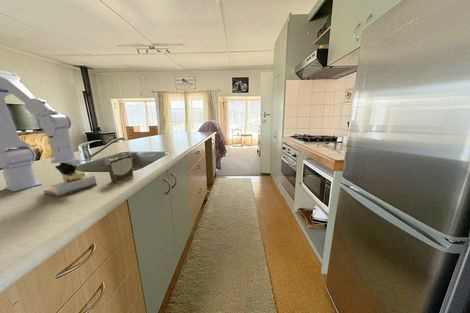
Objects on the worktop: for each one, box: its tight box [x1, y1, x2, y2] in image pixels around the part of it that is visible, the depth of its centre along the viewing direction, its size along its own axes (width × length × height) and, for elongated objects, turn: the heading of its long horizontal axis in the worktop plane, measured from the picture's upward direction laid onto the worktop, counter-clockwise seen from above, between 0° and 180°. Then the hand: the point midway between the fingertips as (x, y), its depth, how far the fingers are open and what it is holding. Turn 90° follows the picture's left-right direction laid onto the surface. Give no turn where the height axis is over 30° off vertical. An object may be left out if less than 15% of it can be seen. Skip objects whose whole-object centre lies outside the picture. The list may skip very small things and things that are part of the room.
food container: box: [103, 153, 134, 184], centre depth 78 cm, size 12×6×10 cm, turn 168°
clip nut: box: [61, 170, 86, 182], centre depth 69 cm, size 5×4×5 cm
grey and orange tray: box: [43, 174, 98, 198], centre depth 69 cm, size 10×12×4 cm
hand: (70, 181), depth 70 cm, fingers closed, pressing on clip nut
